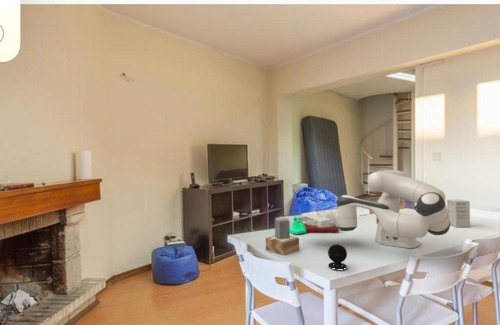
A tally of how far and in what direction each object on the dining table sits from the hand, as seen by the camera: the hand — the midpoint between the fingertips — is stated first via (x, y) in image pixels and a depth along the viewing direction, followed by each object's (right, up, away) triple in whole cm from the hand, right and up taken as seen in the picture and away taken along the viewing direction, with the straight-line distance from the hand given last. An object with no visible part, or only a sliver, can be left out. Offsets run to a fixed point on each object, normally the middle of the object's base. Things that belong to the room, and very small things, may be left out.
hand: (302, 221), depth 158 cm
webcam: (+10, -14, -30) cm, 35 cm away
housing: (-11, -8, -4) cm, 14 cm away
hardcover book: (+17, -13, +34) cm, 40 cm away
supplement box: (+110, -11, +41) cm, 118 cm away
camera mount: (+1, -13, +30) cm, 33 cm away
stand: (-11, -14, -4) cm, 18 cm away
